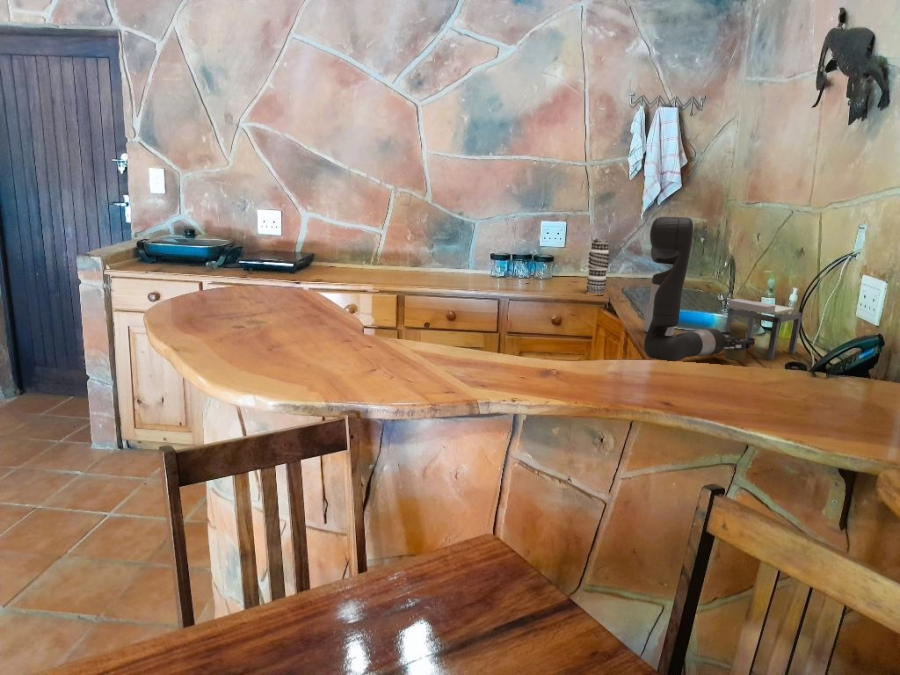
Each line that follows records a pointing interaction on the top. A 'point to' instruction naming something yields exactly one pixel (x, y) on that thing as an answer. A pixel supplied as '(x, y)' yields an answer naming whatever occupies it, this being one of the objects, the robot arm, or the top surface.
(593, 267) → the striped stacked cylinder
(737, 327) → the cork
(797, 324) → the grey miniature table
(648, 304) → the robot arm
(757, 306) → the trapdoor
